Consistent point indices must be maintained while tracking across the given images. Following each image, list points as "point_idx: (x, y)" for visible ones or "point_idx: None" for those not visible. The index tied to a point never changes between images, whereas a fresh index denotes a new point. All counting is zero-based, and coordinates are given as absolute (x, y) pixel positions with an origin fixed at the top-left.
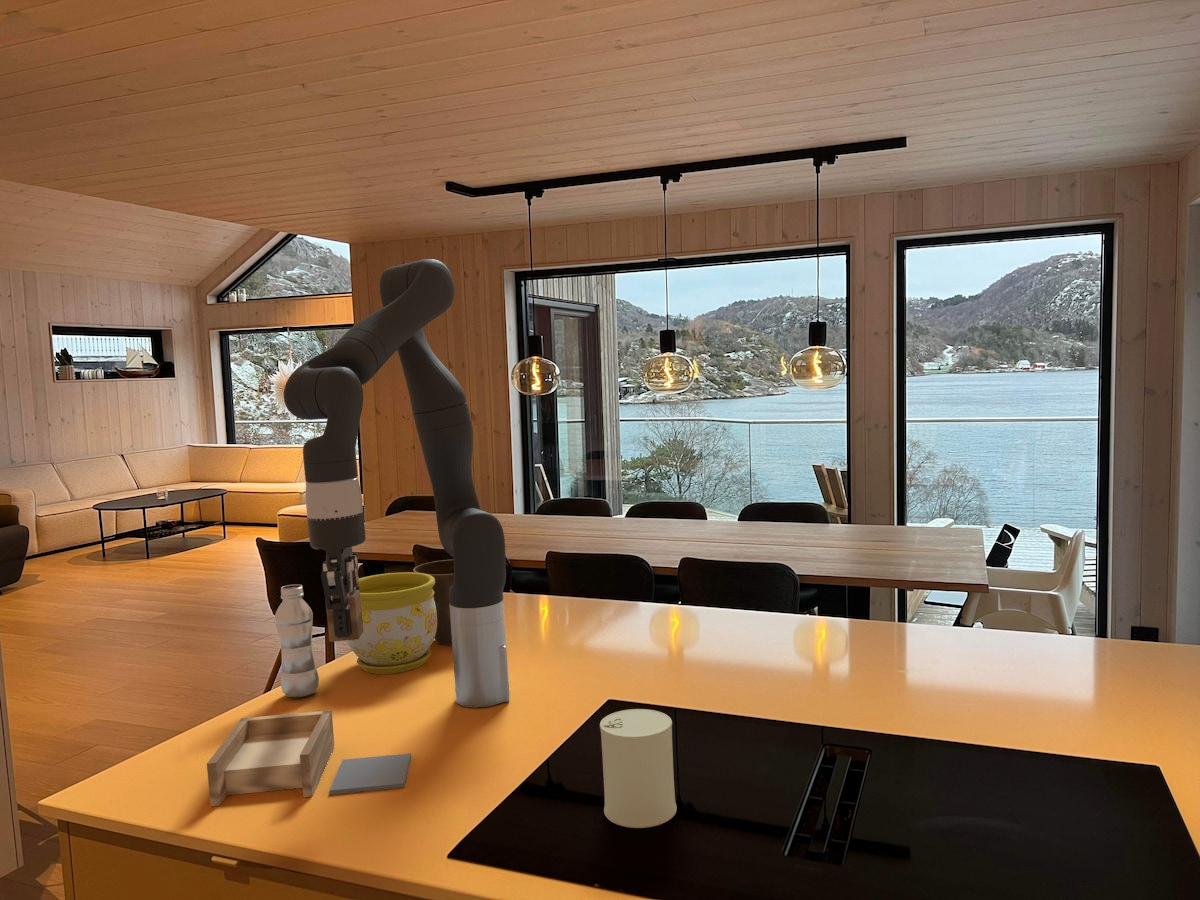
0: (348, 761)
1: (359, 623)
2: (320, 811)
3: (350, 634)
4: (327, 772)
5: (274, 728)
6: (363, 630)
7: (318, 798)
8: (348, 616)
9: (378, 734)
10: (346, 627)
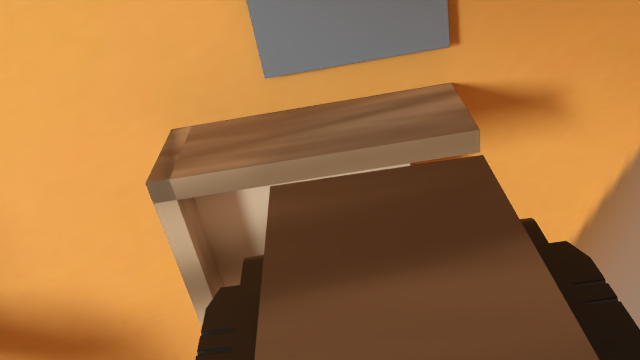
0: (277, 57)
1: (413, 224)
2: (534, 34)
3: (533, 220)
4: (316, 95)
5: (218, 285)
6: (273, 188)
7: (461, 64)
8: (594, 330)
9: (63, 39)
10: (600, 273)
